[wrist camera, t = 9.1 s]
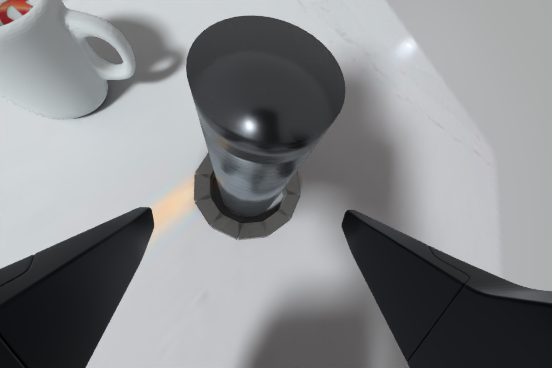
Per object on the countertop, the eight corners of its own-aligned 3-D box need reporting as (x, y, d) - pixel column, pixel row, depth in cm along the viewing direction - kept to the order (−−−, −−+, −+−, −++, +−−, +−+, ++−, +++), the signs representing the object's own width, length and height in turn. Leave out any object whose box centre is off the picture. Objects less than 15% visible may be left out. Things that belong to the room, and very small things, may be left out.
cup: (155, 64, 21) (109, -40, 13) (153, 129, 19) (97, 48, 11) (27, 59, 18) (-116, -71, 11) (7, 134, 16) (-191, 33, 9)
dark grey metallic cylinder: (285, 196, 19) (373, 97, 7) (241, 228, 17) (253, 174, 5) (254, 156, 20) (283, 1, 7) (209, 183, 18) (152, 41, 6)
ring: (301, 233, 18) (306, 232, 17) (197, 244, 16) (193, 243, 15) (288, 146, 21) (292, 139, 19) (198, 146, 19) (195, 138, 17)
